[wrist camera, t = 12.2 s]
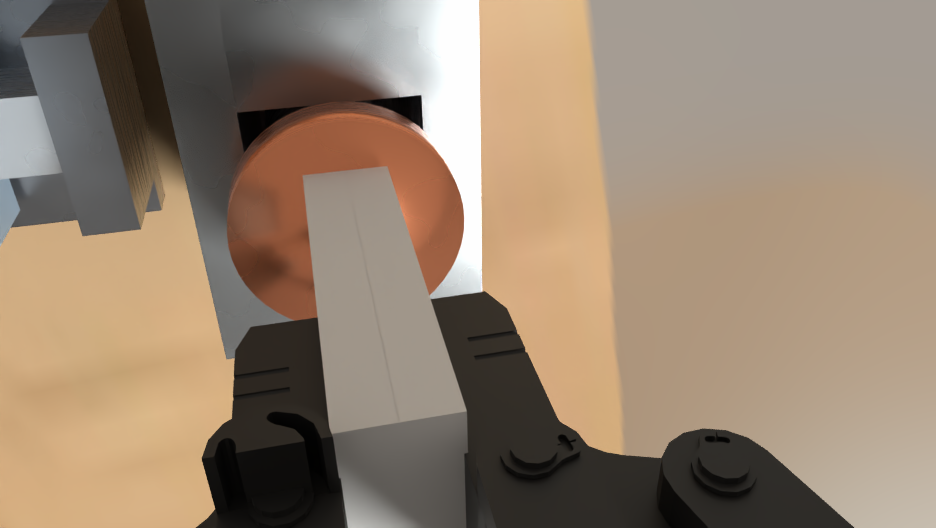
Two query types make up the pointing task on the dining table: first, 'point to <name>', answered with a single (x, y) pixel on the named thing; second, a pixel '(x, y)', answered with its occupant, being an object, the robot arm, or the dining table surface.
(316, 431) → the robot arm
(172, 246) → the dining table surface
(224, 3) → the gauge cabinet
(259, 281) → the plunger
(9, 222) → the grey rectangular block
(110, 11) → the rail
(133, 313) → the dining table surface
